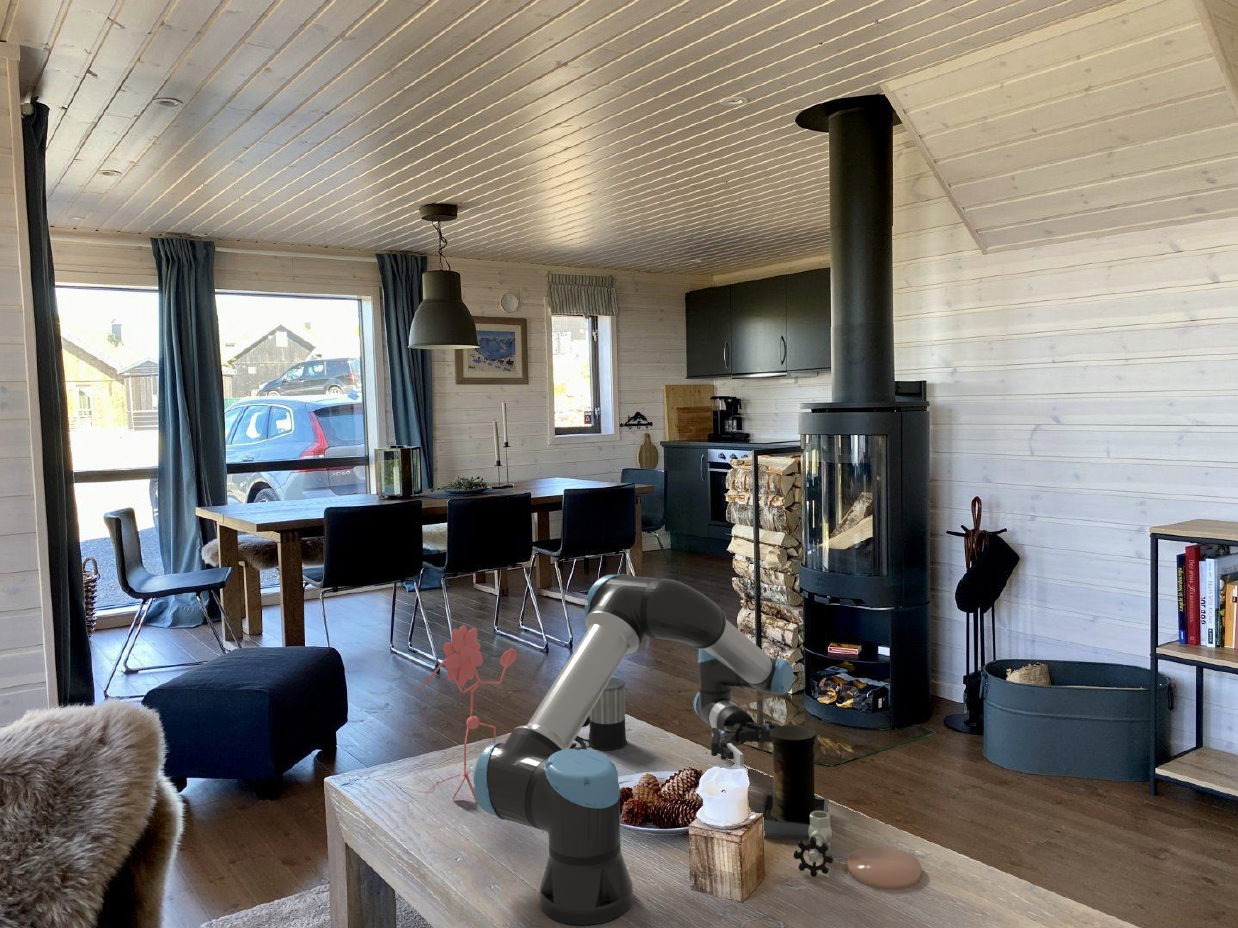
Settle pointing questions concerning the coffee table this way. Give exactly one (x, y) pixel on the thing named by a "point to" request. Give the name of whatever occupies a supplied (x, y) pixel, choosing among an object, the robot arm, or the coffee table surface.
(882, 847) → the peach soap bar
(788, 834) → the collar
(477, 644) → the figurine
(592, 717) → the milk frother
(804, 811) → the container
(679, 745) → the coffee table surface
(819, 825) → the valve
